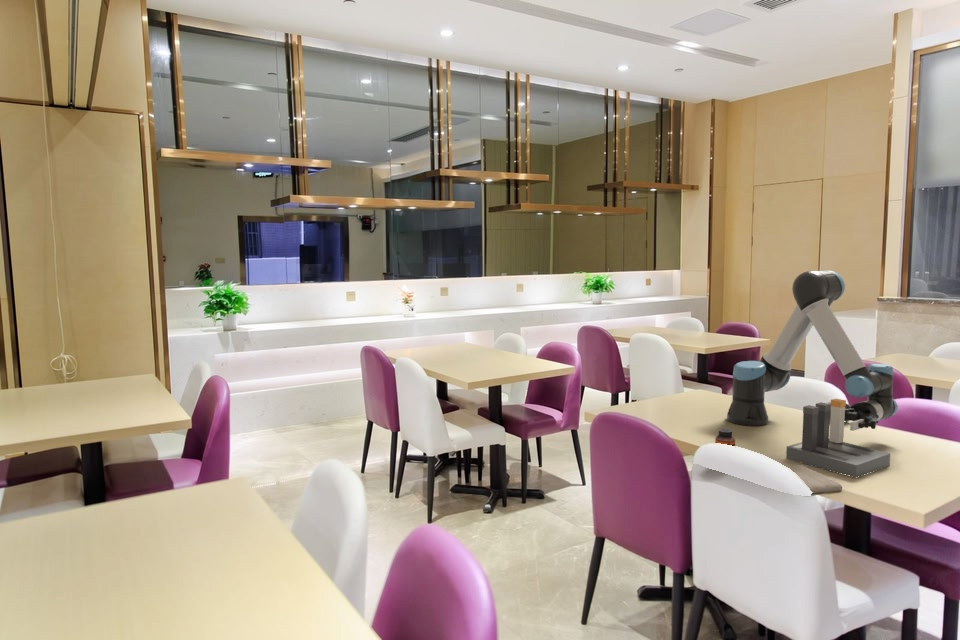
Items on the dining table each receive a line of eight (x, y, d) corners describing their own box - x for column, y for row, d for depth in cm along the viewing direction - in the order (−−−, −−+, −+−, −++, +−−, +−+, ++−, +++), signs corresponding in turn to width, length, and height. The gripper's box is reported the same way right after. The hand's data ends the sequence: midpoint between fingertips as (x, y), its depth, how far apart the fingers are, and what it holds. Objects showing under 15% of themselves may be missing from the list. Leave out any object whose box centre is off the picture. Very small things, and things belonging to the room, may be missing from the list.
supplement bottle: (735, 463, 202) (736, 428, 200) (734, 469, 196) (735, 433, 195) (715, 460, 204) (716, 426, 203) (713, 466, 199) (714, 431, 198)
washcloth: (799, 471, 195) (799, 461, 195) (844, 492, 178) (845, 482, 178) (765, 474, 193) (766, 464, 192) (808, 496, 175) (808, 485, 175)
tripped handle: (828, 441, 210) (830, 399, 208) (833, 439, 212) (836, 398, 210) (838, 443, 207) (840, 401, 206) (843, 441, 209) (845, 400, 207)
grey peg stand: (786, 458, 206) (788, 404, 204) (820, 447, 217) (822, 396, 215) (856, 478, 188) (859, 419, 186) (889, 465, 198) (893, 409, 196)
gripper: (903, 431, 208) (870, 442, 197) (829, 415, 229) (795, 424, 217) (905, 409, 208) (871, 418, 196) (830, 395, 228) (796, 403, 217)
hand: (831, 421), depth 207 cm, fingers open, 12 cm apart
